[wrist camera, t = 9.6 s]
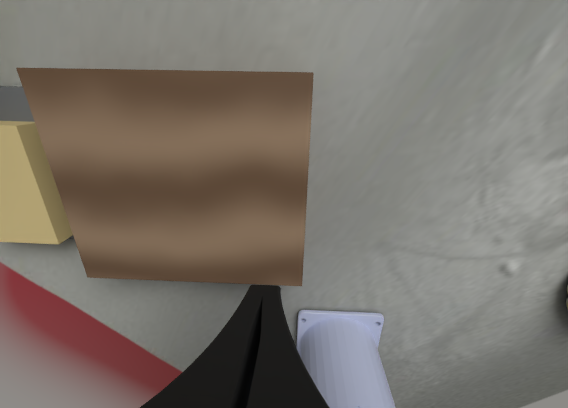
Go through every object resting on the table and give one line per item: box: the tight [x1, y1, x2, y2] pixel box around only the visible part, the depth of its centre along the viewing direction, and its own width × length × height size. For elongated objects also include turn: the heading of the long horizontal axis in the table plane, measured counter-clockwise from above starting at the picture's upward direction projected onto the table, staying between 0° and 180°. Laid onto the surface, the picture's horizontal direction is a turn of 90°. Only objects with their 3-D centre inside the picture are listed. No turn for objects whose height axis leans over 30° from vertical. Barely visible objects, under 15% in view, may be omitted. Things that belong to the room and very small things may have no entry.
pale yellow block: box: [0, 121, 73, 244], centre depth 20 cm, size 9×6×2 cm, turn 179°
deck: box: [16, 68, 313, 286], centre depth 19 cm, size 14×16×4 cm
